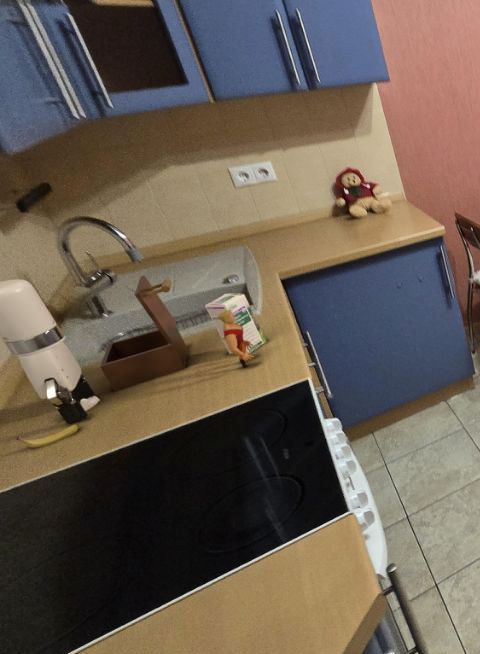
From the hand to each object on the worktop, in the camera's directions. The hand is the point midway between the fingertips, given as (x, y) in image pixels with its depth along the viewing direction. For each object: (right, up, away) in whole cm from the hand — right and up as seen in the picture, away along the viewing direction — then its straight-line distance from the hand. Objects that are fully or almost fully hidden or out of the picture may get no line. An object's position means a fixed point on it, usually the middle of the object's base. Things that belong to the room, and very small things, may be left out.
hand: (82, 409), depth 113 cm
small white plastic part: (0, -1, +1) cm, 1 cm away
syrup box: (+21, +10, +20) cm, 30 cm away
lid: (+6, +20, +11) cm, 24 cm away
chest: (+2, +6, +14) cm, 16 cm away
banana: (+3, -5, -8) cm, 10 cm away
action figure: (+27, +7, +13) cm, 30 cm away
